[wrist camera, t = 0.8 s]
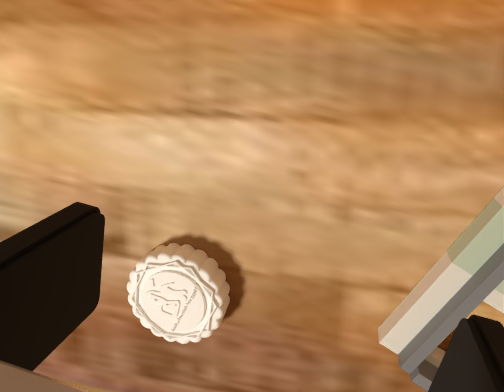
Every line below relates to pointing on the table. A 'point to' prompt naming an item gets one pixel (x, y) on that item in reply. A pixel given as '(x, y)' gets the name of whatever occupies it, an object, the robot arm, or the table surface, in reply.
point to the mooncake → (178, 293)
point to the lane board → (449, 295)
